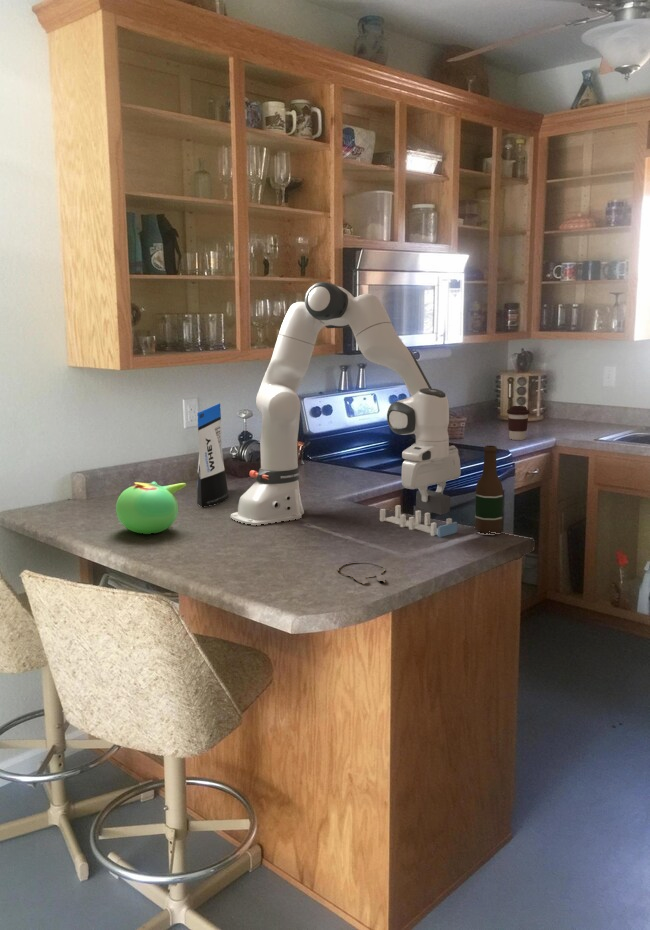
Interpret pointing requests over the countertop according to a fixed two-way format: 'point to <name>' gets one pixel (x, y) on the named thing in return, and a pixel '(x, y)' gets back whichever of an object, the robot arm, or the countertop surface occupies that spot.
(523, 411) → the coffee cup
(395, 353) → the robot arm
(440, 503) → the gray rectangular block
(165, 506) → the round green spouted pot
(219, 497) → the protein powder
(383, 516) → the white peg rack
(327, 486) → the countertop surface
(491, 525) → the beer bottle
